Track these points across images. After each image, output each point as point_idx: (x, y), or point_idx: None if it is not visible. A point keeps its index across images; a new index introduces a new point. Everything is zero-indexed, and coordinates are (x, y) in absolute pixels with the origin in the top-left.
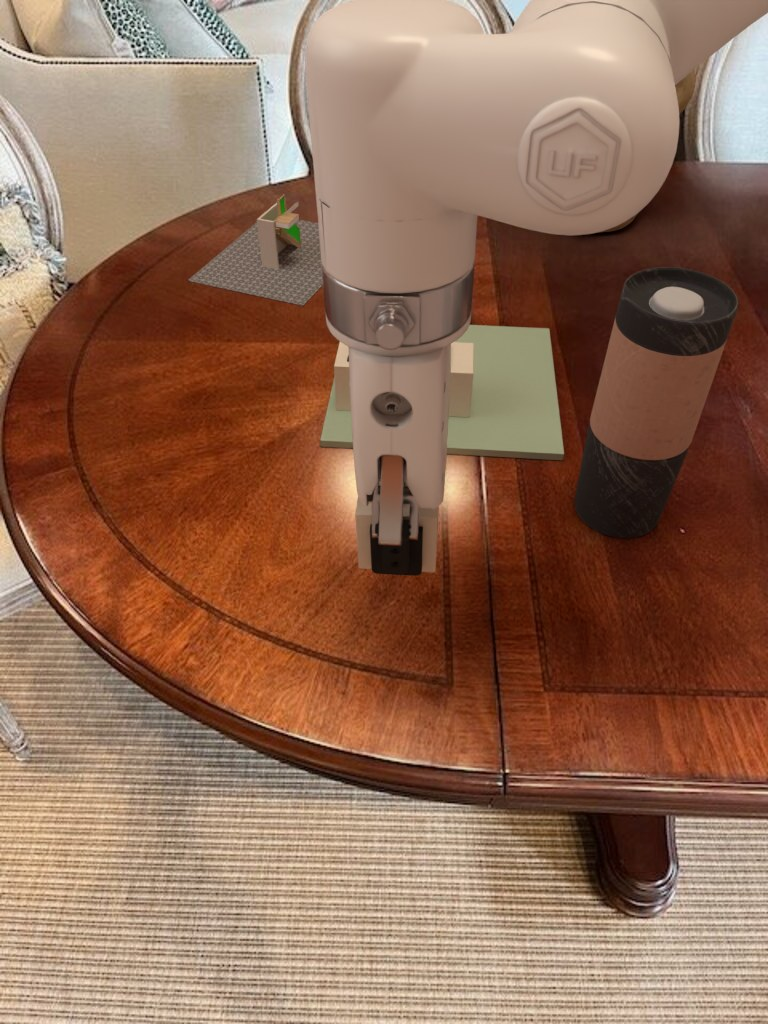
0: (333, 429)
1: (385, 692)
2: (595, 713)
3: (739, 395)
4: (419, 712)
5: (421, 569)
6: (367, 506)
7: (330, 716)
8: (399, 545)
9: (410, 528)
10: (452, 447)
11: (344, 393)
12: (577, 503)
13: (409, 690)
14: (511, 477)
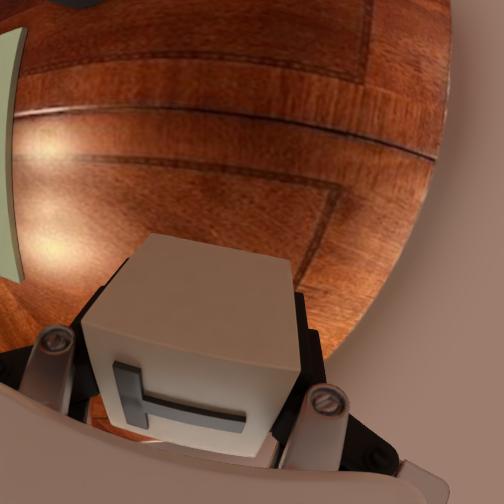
0: (7, 270)
1: (334, 255)
2: (394, 46)
3: None
4: (364, 226)
5: (302, 298)
6: (236, 447)
7: (347, 304)
8: (445, 483)
9: (382, 459)
10: (4, 150)
11: None
12: (86, 2)
13: (337, 231)
14: (38, 79)
